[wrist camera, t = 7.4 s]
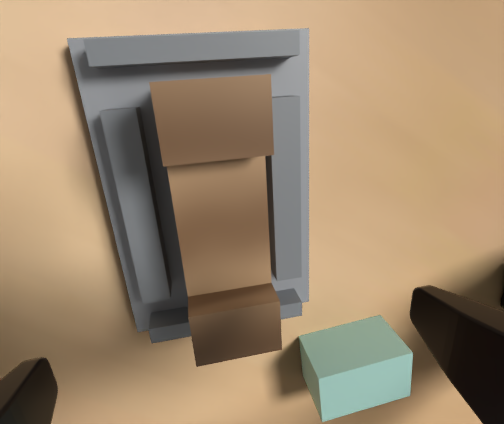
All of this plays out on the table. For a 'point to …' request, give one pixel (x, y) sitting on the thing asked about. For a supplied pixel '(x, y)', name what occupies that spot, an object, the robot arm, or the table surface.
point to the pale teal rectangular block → (355, 367)
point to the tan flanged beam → (222, 209)
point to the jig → (156, 176)
